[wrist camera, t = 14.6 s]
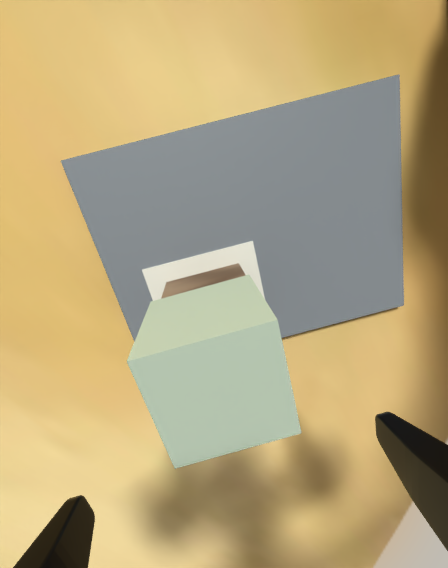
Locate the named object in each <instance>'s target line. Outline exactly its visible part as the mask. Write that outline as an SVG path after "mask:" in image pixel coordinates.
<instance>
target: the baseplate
mask: <svg viewBox="0 0 448 568" xmlns="http://www.w3.org/2000/svg"><path fill="white" fill-rule="evenodd" d="M61 163H62V165H63V168H64V170H65V172H66V175H67V177H68V180H69V182H70V185H71V187H72V190H73V192H74V195H75V197H76V199H77V202H78V204H79V207H80V209H81V212H82V214H83V217H84V219H85V221H86V224H87V226H88V229H89V231H90V234H91V236H92V239H93V241H94V244H95V246H96V248H97V251H98V253H99V256H100V258H101V261H102V263H103V266H104V268H105V270H106V273H107V275H108V278H109V280H110V283H111V285H112V288H113V290H114V293H115V295H116V297H117V300H118V302H119V305H120V307H121V310H122V312H123V315H124V317H125V319H126V322H127V324H128V327H129V329H130V332H131V334H132V337H133V339H134V342H135V340H136V337H137V335H138V332H139V329H140V327H141V324H142V322H143V319H144V317H145V314H146V312H147V309H148V307H149V304H150V302H151V301H155V300H158V299H161V297H162V294H163V291H164V288H165V285H166V282H169V281H173V280H176V279H180V278H184V277H188V276H192V275H195V274H199V273H203V272H207V271H210V270H214V269H218V268H222V267H226V266H229V265H233V264H237V263H239V264H240V266H241V268H242V270H243V271H244V273H245V275H250V277H251V278H252V280H253V281H254V283H255V285H256V286H257V288H258V289H259V291H260V293H261V294H262V296H263V297H264V299H265V300H266V302H267V304H268V305H269V307H270V308H271V310H272V312H273V313H274V315H275V316H276V318H277V320H278V324H279V329H280V334H281V338H283V337H287V336H291V335H294V334H298V333H302V332H306V331H309V330H313V329H317V328H321V327H324V326H328V325H332V324H336V323H339V322H343V321H347V320H351V319H354V318H358V317H362V316H366V315H369V314H373V313H377V312H381V311H385V310H388V309H392V308H396V307H400V306H403V305H404V288H403V236H402V183H401V131H400V79H399V75H395V76H391V77H387V78H383V79H380V80H376V81H372V82H368V83H364V84H360V85H356V86H352V87H348V88H344V89H340V90H336V91H332V92H329V93H325V94H321V95H317V96H313V97H309V98H305V99H301V100H297V101H293V102H289V103H285V104H281V105H277V106H274V107H270V108H266V109H262V110H258V111H254V112H250V113H246V114H242V115H238V116H234V117H230V118H226V119H223V120H219V121H215V122H211V123H207V124H203V125H199V126H195V127H191V128H187V129H183V130H179V131H175V132H172V133H168V134H164V135H160V136H156V137H152V138H148V139H144V140H140V141H136V142H132V143H128V144H124V145H121V146H117V147H113V148H109V149H105V150H101V151H97V152H93V153H89V154H85V155H81V156H77V157H73V158H70V159H66V160H62V161H61Z"/></svg>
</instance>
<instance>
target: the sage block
mask: <svg viewBox="0 0 448 568" xmlns="http://www.w3.org/2000/svg"><path fill="white" fill-rule="evenodd" d="M127 363H128V365H129V368H130V370H131V372H132V374H133V377H134V379H135V381H136V383H137V385H138V388H139V390H140V392H141V394H142V397H143V399H144V401H145V403H146V406H147V408H148V410H149V412H150V414H151V417H152V419H153V421H154V423H155V426H156V428H157V430H158V432H159V435H160V437H161V439H162V441H163V443H164V446H165V448H166V450H167V452H168V455H169V457H170V459H171V461H172V463H173V466H174V468H175V469H176V468H179V467H183V466H186V465H190V464H194V463H197V462H201V461H204V460H208V459H211V458H215V457H219V456H222V455H226V454H229V453H233V452H236V451H240V450H243V449H247V448H251V447H254V446H258V445H261V444H265V443H268V442H272V441H275V440H279V439H283V438H286V437H290V436H293V435H297V434H300V433H301V428H300V424H299V419H298V414H297V409H296V405H295V400H294V395H293V390H292V386H291V381H290V376H289V371H288V367H287V362H286V357H285V352H284V348H283V343H282V338H281V334H280V329H279V324H278V320H277V318H276V316H275V315H274V313H273V312H272V310H271V308H270V307H269V305H268V304H267V302H266V300H265V299H264V297H263V296H262V294H261V293H260V291H259V289H258V288H257V286H256V285H255V283H254V281H253V280H252V278H251V277H250V275H245V276H242V277H238V278H235V279H231V280H227V281H224V282H220V283H216V284H213V285H209V286H205V287H202V288H198V289H195V290H191V291H187V292H184V293H180V294H176V295H173V296H169V297H166V298H162V299H158V300H155V301H151V302H150V304H149V307H148V309H147V312H146V314H145V317H144V319H143V322H142V324H141V327H140V329H139V332H138V335H137V337H136V340H135V342H134V345H133V347H132V350H131V352H130V355H129V357H128V360H127Z"/></svg>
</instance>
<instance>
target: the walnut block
mask: <svg viewBox="0 0 448 568" xmlns="http://www.w3.org/2000/svg"><path fill="white" fill-rule="evenodd" d="M242 276H245V273H244V271H243V270H242V268H241V266H240V264H239V263H237V264H233V265H229V266H226V267H222V268H218V269H214V270H210V271H207V272H203V273H199V274H195V275H192V276H188V277H184V278H180V279H176V280H173V281H169V282H166V285H165V288H164V291H163V294H162V297H161V299H162V298H166V297H169V296H173V295H176V294H180V293H184V292H187V291H191V290H195V289H198V288H202V287H205V286H209V285H213V284H216V283H220V282H224V281H227V280H231V279H235V278H238V277H242Z"/></svg>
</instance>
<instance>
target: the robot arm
mask: <svg viewBox="0 0 448 568" xmlns="http://www.w3.org/2000/svg"><path fill="white" fill-rule="evenodd" d="M375 422H376V435H377V438H378V441H379V443H380V445H381V447H382V448H383V450H384V452H385V454H386V455H387V457H388V459H389V461H390V462H391V464H392V466H393V467H394V469H395V471H396V473H397V474H398V476H399V478H400V480H401V481H402V483H403V485H404V487H405V488H406V490H407V492H408V493H409V495H410V497H411V498H412V500H413V502H414V503H415V505H416V506H417V507H418V509H419V510H420V512H421V513H422V515H423V516H424V518H425V519H426V521H427V522H428V523H429V525H430V526H431V528H432V529H433V531H434V532H435V533H436V535H437V536H438V538H439V539H440V541H441V542H442V544H443V545H444V546H445V548H446V549H447V551H448V445H447V444H445V443H443V442H442V441H440V440H438V439H436V438H435V437H433V436H431V435H429V434H428V433H426V432H424V431H422V430H421V429H419V428H417V427H416V426H414V425H412V424H410V423H409V422H407V421H405V420H403V419H402V418H400V417H398V416H396V415H395V414H393V413H391V412H385V413H381V414H377V415H376V417H375ZM94 522H95V516H94V512H93V510H92V508H91V507H90V505H89V503H88V502H87V500H86V499H85V497H84V496H82V495H80V496H76V497H73V498H70V499H68V500H67V501H66V502H65V503H64V504H63V505H62V507H61V508H60V509H59V510H58V512H57V513H56V514H55V515H54V517H53V518H52V519H51V521H50V522H49V523H48V524H47V526H46V527H45V528H44V529H43V531H42V532H41V533H40V534H39V536H38V537H37V538H36V539H35V541H34V542H33V543H32V544H31V546H30V547H29V548H28V550H27V551H26V552H25V553H24V555H23V556H22V557H21V558H20V560H19V561H18V562H17V563H16V565H15V566H14V567H13V568H88V563H89V556H90V549H91V542H92V536H93V529H94Z"/></svg>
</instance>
